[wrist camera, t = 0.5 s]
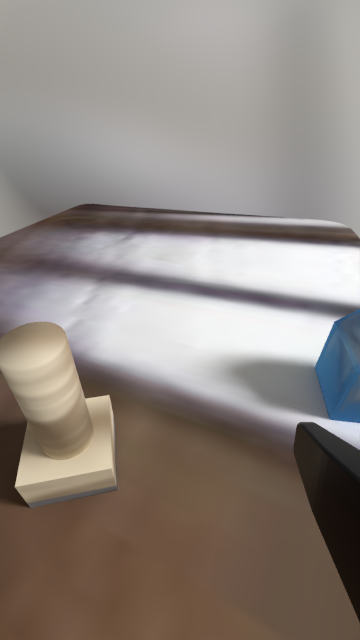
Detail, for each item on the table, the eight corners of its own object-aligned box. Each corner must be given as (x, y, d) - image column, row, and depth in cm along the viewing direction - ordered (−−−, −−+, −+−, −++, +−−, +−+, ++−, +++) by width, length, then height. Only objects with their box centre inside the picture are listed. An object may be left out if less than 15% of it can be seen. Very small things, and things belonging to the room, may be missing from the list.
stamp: (117, 490, 23) (87, 378, 15) (30, 508, 22) (-52, 398, 14) (114, 419, 27) (89, 304, 19) (42, 431, 26) (-15, 315, 18)
